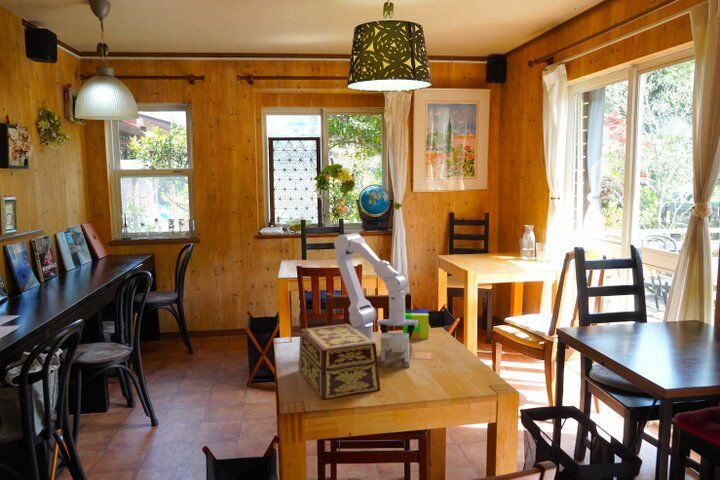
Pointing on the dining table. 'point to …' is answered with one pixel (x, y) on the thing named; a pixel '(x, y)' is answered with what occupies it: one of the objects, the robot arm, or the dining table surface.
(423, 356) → the terracotta tile
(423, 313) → the puzzle toy
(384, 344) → the sliding cover
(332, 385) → the decorative box
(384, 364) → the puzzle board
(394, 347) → the cream block
